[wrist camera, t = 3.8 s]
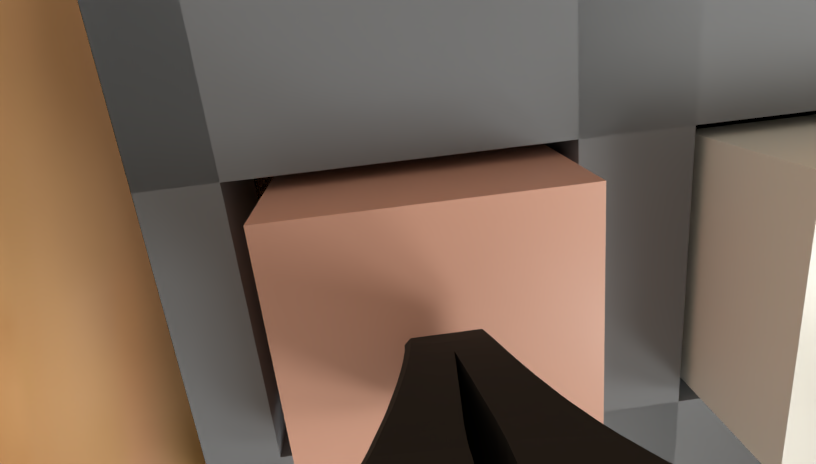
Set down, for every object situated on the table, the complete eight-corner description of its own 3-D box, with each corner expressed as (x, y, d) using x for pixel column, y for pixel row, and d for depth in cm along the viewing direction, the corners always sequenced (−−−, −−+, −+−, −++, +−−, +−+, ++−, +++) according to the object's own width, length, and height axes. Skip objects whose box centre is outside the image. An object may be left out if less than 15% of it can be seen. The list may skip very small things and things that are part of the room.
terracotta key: (536, 139, 13) (605, 180, 9) (542, 362, 15) (603, 469, 11) (277, 170, 13) (243, 225, 9) (318, 392, 15) (304, 513, 11)
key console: (998, -96, 13) (1170, -131, 11) (892, 404, 18) (992, 472, 15) (137, -4, 13) (73, -15, 10) (259, 494, 17) (239, 584, 14)
